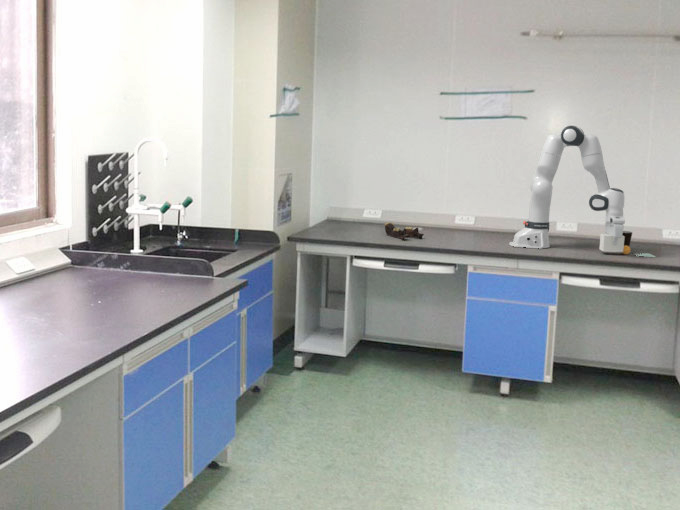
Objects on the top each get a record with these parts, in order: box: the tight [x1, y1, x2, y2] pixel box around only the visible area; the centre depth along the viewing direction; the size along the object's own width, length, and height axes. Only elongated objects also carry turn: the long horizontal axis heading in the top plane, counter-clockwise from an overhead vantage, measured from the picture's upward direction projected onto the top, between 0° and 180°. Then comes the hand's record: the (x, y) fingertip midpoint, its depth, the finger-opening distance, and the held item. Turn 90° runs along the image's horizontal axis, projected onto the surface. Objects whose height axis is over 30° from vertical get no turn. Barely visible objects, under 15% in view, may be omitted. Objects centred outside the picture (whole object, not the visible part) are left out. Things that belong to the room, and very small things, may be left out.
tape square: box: [636, 252, 656, 258], centre depth 431 cm, size 10×10×1 cm
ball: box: [621, 245, 632, 255], centre depth 431 cm, size 5×5×5 cm
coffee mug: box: [622, 230, 633, 247], centre depth 450 cm, size 12×9×10 cm
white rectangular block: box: [598, 233, 625, 253], centre depth 430 cm, size 11×7×9 cm, turn 88°
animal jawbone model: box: [384, 221, 425, 242], centre depth 468 cm, size 17×25×10 cm
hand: (612, 243), depth 431 cm, fingers closed on white rectangular block, 7 cm apart
